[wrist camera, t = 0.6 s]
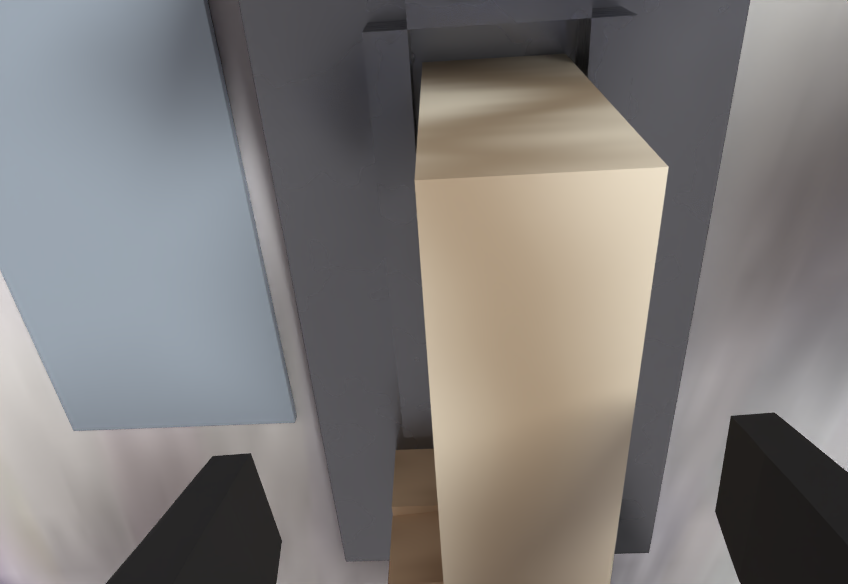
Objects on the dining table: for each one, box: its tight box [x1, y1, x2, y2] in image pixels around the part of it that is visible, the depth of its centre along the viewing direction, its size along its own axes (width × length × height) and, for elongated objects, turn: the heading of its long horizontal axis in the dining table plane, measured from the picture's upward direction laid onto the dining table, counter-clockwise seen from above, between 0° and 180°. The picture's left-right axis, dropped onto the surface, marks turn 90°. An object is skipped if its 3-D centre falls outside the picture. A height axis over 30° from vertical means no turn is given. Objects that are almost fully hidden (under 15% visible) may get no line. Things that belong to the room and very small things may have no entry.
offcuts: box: [388, 449, 444, 584], centre depth 21 cm, size 7×5×5 cm
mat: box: [0, 0, 297, 431], centre depth 19 cm, size 8×14×1 cm, turn 4°
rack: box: [239, 0, 750, 561], centre depth 17 cm, size 12×24×8 cm, turn 4°
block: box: [415, 54, 669, 584], centre depth 15 cm, size 4×10×8 cm, turn 3°
